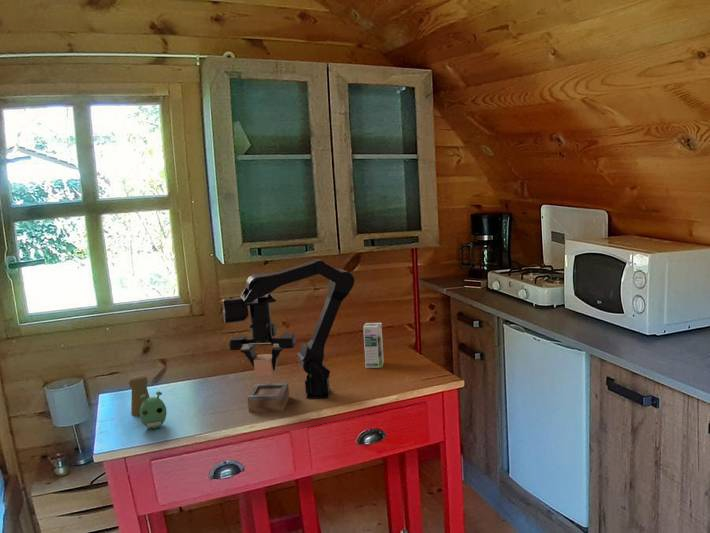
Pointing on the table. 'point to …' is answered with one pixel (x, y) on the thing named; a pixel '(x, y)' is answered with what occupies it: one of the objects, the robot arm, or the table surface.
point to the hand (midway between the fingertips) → (265, 370)
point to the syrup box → (373, 345)
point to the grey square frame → (268, 397)
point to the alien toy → (153, 411)
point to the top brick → (263, 365)
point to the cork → (138, 392)
